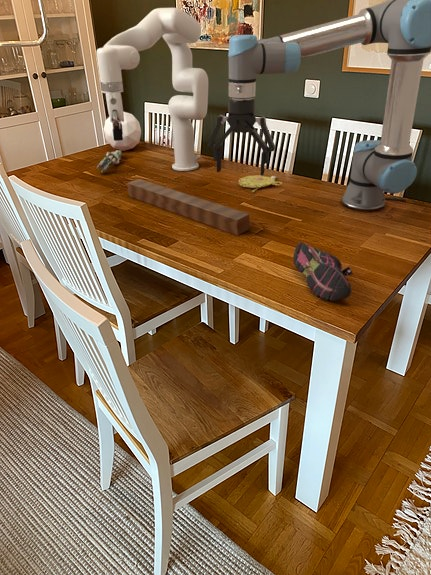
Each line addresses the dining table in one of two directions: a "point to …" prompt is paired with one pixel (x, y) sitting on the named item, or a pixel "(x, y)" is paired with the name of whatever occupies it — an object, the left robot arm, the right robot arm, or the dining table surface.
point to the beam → (190, 206)
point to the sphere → (124, 133)
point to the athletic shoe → (322, 272)
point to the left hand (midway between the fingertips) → (118, 137)
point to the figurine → (110, 160)
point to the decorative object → (257, 181)
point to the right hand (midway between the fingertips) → (240, 172)
